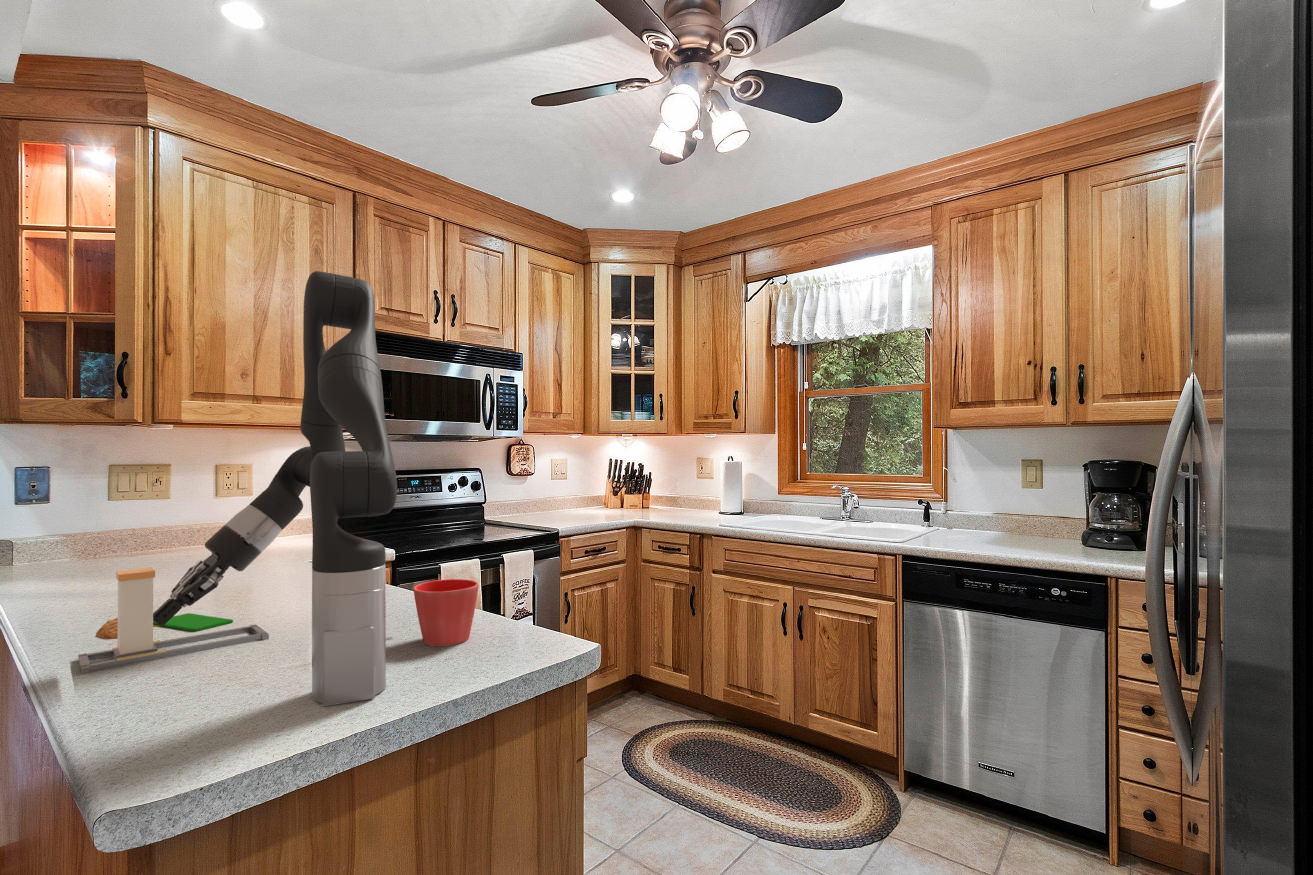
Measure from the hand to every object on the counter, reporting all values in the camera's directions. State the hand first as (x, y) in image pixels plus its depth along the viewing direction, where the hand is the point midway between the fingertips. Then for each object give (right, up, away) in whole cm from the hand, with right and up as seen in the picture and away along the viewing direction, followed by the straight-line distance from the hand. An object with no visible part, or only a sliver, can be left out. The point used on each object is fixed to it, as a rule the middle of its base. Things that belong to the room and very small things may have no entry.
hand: (155, 621), depth 103 cm
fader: (-2, -5, -2) cm, 6 cm away
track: (+2, -6, +2) cm, 7 cm away
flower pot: (+43, -6, +10) cm, 45 cm away
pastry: (-16, -7, +13) cm, 22 cm away
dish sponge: (-7, -7, +18) cm, 21 cm away
